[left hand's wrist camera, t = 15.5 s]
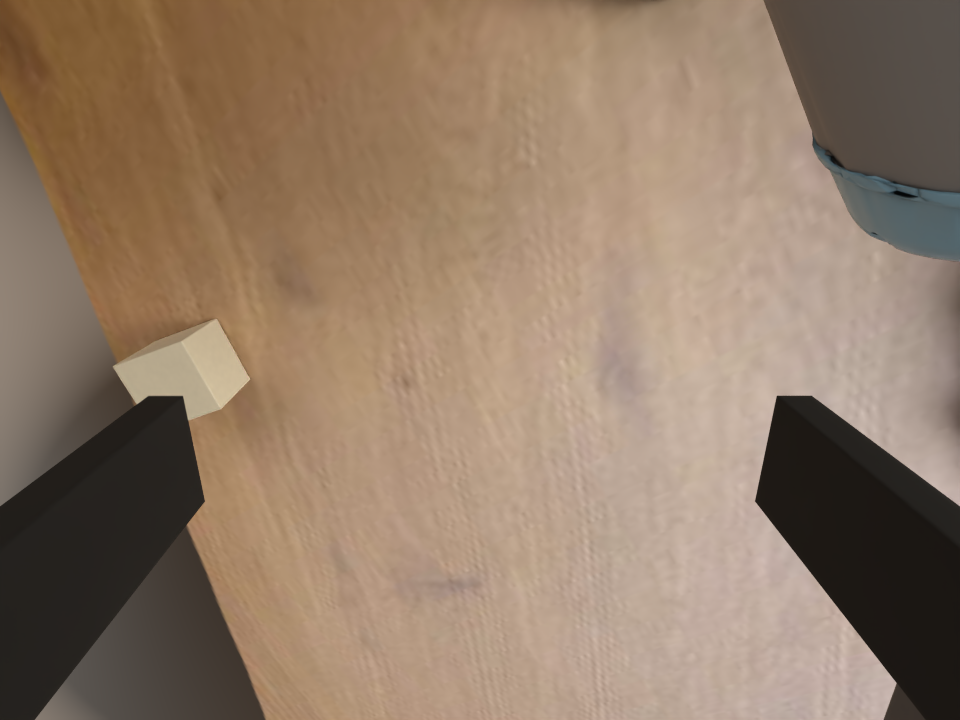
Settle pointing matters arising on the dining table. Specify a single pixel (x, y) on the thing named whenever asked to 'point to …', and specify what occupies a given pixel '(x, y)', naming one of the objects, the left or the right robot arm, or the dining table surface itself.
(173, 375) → the cream block
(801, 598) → the dining table surface
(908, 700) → the plank
